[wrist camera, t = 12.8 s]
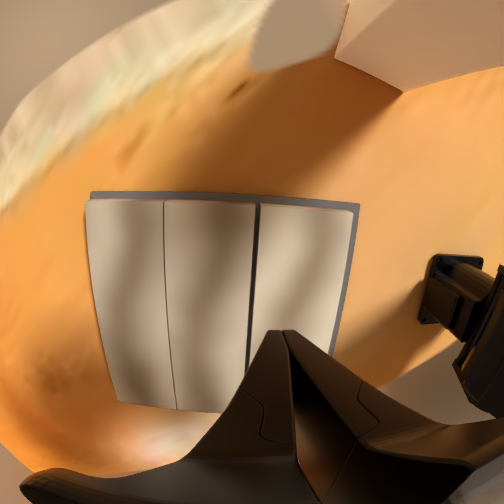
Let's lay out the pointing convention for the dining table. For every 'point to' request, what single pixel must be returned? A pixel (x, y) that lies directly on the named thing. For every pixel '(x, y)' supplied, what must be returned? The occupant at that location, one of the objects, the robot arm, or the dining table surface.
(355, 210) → the underlay mat
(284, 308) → the loose plank
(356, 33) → the milk
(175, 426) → the dining table surface
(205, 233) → the laid planks
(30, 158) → the dining table surface
